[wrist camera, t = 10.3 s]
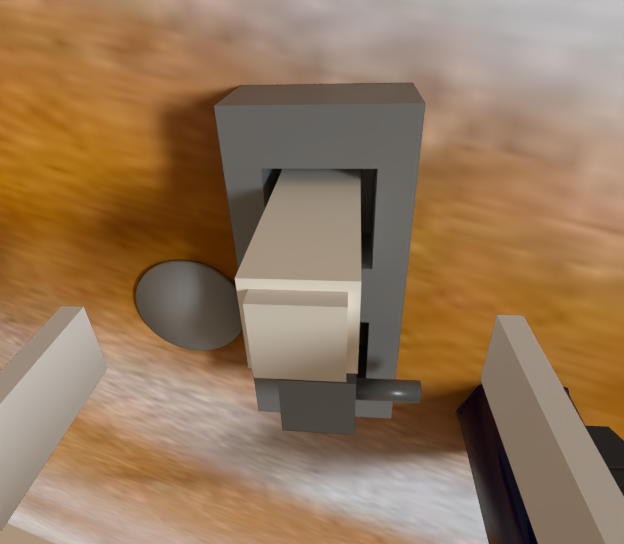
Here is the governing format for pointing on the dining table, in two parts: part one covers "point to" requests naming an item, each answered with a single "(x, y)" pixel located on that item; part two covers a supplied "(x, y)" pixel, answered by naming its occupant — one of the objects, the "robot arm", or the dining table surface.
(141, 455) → the dining table surface
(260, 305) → the plug
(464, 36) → the dining table surface
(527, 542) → the bottle
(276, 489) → the dining table surface
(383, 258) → the strip
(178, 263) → the coaster
